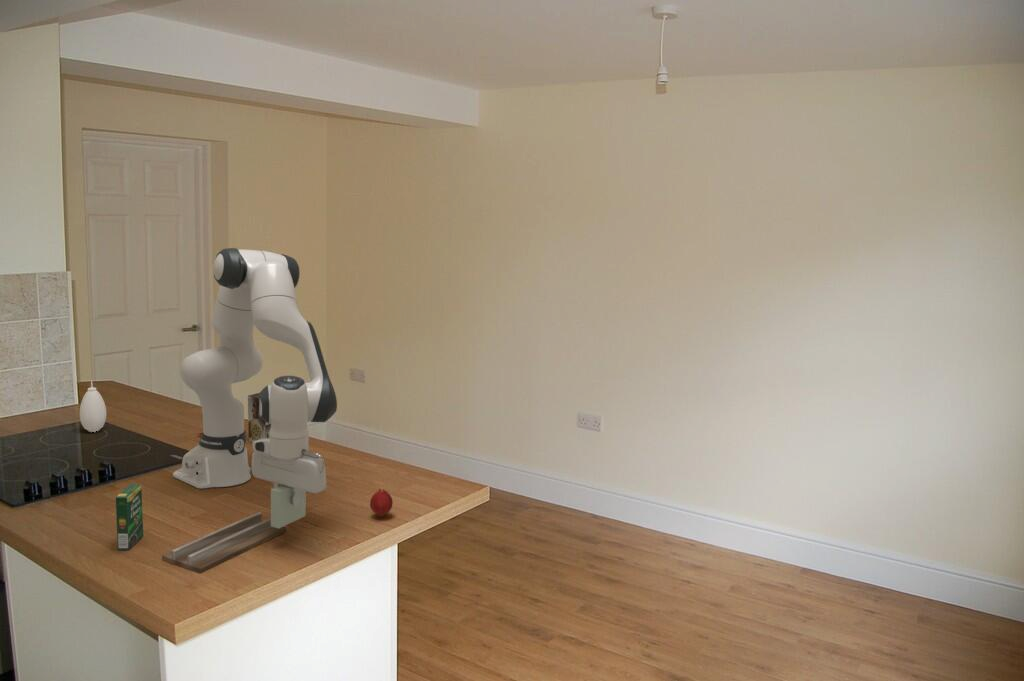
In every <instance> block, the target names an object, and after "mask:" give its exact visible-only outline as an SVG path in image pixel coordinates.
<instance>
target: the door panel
mask: <svg viewBox="0 0 1024 681" xmlns="http://www.w3.org/2000/svg"><path fill="white" fill-rule="evenodd" d="M294 494H295V492H294V491H293V488H292V487H289V486H285V485H280V486H278V487H275V488H274V487H273V488H270V518H271V526H272V527H275V528H278V529H279V528H281V527H286V526H287V525H289V524H291V523H294V522H296V521H297V520H300V519H301V518H302V519H303V518H304V517H306V514H307V510H306V509H307V508H306V507H307V500H306V499H307V497H306V496H307V491H303V493H302V495H301V496H300V503H299V504H298V505H293V504H290V497H293V496H294Z"/></svg>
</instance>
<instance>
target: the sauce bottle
mask: <svg viewBox="0 0 1024 681" xmlns="http://www.w3.org/2000/svg"><path fill="white" fill-rule="evenodd" d="M90 380H91V379H90ZM79 420H80V421H79V422H80V424H81V425H82V427H83V429H84V430H87V432H89V433H92V432H94V433H97V432H99V431H100V430H101V429H102V428H103V427H104V426H105V423H106V420H107V407H106V404H105V400H104V399H103V396H102V395H101V393H100V392H99V391H98V389H97V387H94V384H93V380H91V381H90V387H88V388H87V391H86V392H85V394H84V395H83V397H82V399H81V403H80V408H79ZM96 431H97V432H96Z"/></svg>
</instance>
